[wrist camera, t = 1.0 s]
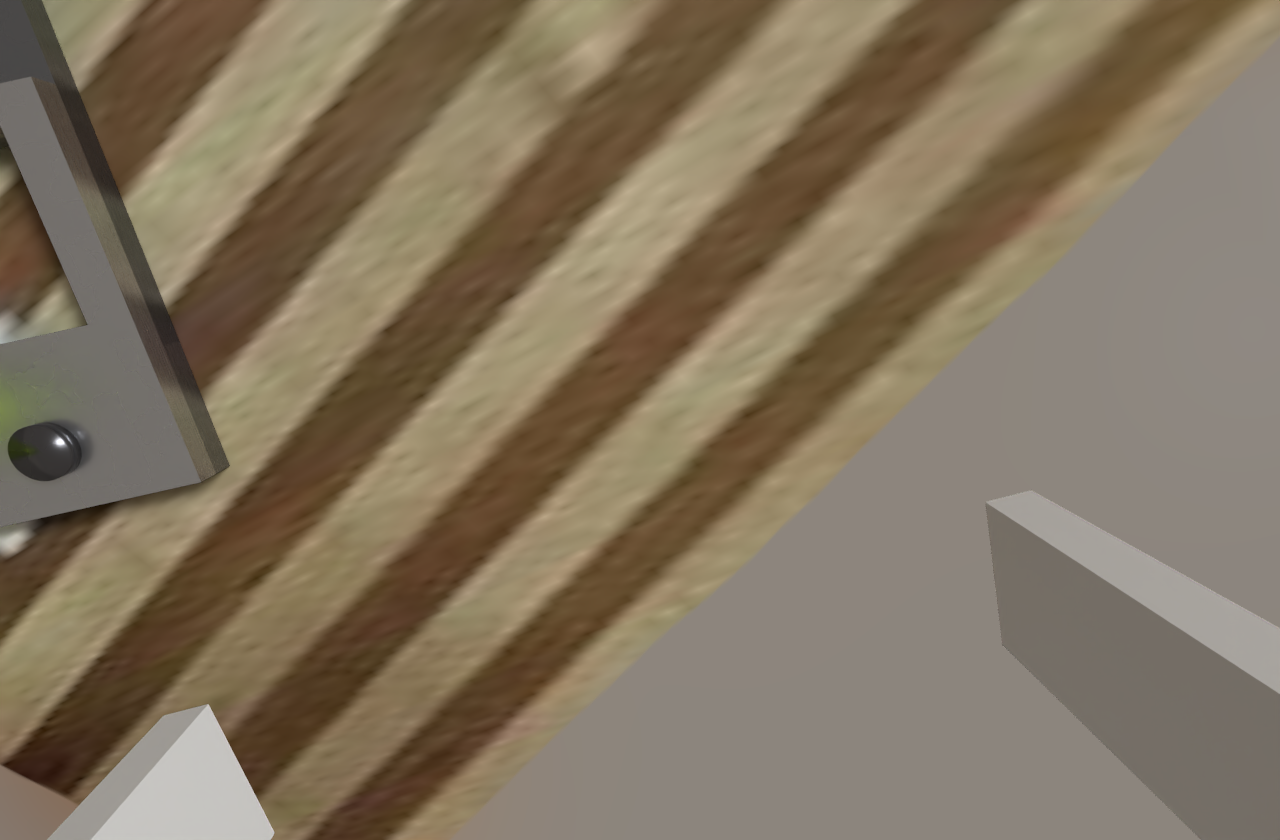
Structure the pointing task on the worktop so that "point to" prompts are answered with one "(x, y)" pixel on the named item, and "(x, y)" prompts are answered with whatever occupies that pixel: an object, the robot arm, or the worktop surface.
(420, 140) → the worktop surface
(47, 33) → the lower link
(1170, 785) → the robot arm
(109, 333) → the upper link
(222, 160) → the worktop surface
